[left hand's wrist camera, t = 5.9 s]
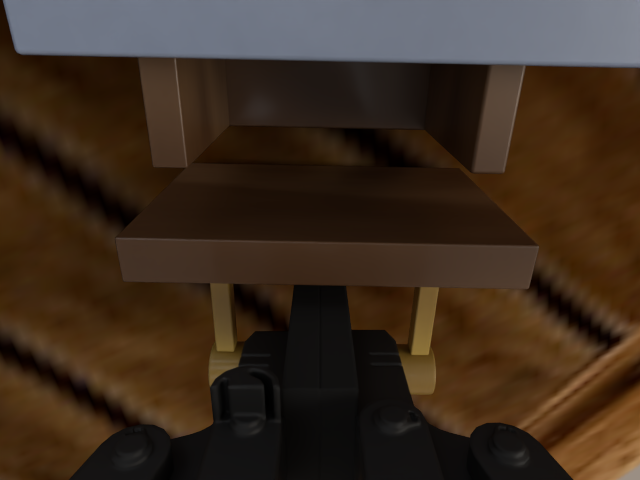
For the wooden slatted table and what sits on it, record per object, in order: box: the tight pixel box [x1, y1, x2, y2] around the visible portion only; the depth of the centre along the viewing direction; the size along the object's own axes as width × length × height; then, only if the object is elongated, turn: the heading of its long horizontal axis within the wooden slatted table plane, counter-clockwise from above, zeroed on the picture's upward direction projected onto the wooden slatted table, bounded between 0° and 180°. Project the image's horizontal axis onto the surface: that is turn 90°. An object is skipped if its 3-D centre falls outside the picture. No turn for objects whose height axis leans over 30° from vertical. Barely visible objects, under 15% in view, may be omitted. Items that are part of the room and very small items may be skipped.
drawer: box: [115, 57, 539, 395], centre depth 12 cm, size 21×10×7 cm, turn 179°
